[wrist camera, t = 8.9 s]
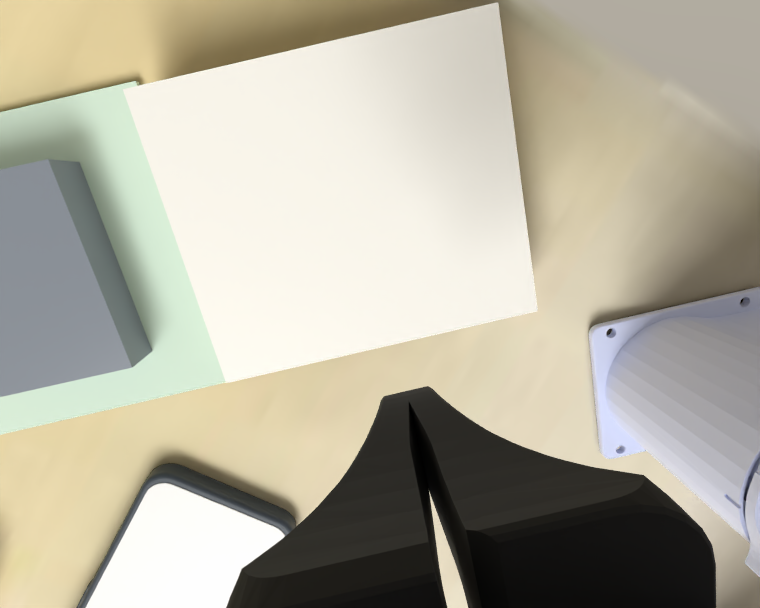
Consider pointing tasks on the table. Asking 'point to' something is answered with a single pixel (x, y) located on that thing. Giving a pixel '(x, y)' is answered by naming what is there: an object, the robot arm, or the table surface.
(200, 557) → the phone case
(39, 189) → the thick grey-blue block
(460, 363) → the table surface
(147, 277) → the mat
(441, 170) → the white flat block
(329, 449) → the table surface
